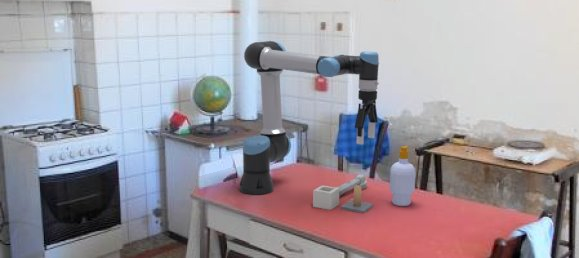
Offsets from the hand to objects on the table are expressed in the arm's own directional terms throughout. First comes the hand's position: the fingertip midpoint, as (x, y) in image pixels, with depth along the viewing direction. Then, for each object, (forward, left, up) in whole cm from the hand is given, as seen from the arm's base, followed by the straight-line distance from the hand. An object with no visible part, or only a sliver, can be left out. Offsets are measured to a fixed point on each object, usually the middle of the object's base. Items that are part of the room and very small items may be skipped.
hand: (365, 140), depth 246 cm
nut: (-11, -14, -26) cm, 31 cm away
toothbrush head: (-10, +7, -26) cm, 29 cm away
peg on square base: (+1, -10, -26) cm, 28 cm away
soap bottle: (+15, +4, -26) cm, 30 cm away
